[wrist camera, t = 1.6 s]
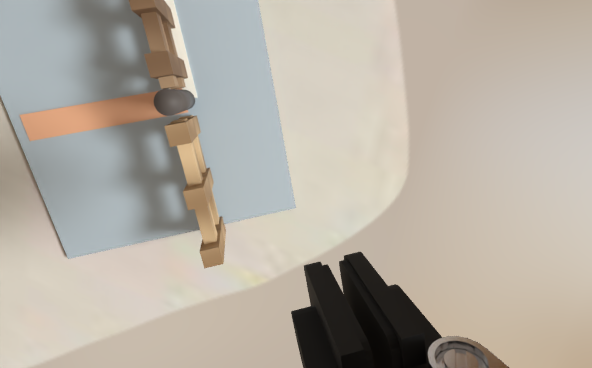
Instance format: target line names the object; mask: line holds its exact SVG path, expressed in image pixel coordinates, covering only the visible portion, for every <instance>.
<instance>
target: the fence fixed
mask: <svg viewBox="0 0 592 368" xmlns="http://www.w3.org/2000/svg"><path fill="white" fill-rule="evenodd" d="M129 3H130V7H131V10H132V11H133V12H134V13H135V14H137V15H138V16H139V17H141V18H142V21H143V25H144V29H145V32H146V36H147V40H148V43H149V47H150V50H151V53H148V54H144V56H145V60H146V63H147V67H148V70H149V74H150V77H151V78H155V79H159V83H160V86H161V89H163V90H160V91H158V92H157V93H156V95H155V97H154V106H155V108H156V110H157V111H158V112H159V113H161V114H162V115H165V116H172V115H175V114H178V113H180V112H183V111H185V110H188V109H190V108H192V107H193V106H194V104H195V97H194V95H193V94H192V93H191V92H190V91H188V90H179V88H184V87H186V86H185V82H184V79H187V78H188V75H187V71H186V67H185V63H184V60H182V59H181V58H179V57H178V55H177V51H176V47H175V43H174V39H173V35H172V31H171V29H173V28H175V24H174V20H173V16H172V12H171V8H170V7H169V6H168V5H167V3H166V2H165V1H164V0H129ZM168 88H171V89H168Z"/></svg>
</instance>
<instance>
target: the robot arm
mask: <svg viewBox="0 0 592 368" xmlns="http://www.w3.org/2000/svg"><path fill="white" fill-rule="evenodd" d="M339 266H340V272H341V279H342V285H343V292H342V291H341V289H340V287H339V285H338V283H337V281H336V279H335V277H334V276H333V274H332V272H331V270H330V268H329V266H328V265H323V266H322V264H321V262H316V263H312V264H309V265H304V271H305V276H306V281H307V287H308V292H309V297H310V303H311V306H310V307H307V308H303V309H299V310H295V311H292V312H291V314H292V319H293V323H294V328H295V333H296V338H297V342H298V347H299V351H300V355H301V360H302V364H303V368H509V367H508V366H507V365H505V364H504V363H503V362H502V361H501V360H500V359H498V358H497V357H496V356H495V355H494V354H492V353H491V352H490V351H489V350H488V349H487V348H485V347H484V346H482V345H481V344H479V343H478V342H476V341H473V340H471V339H468V338H464V337H459V336H447V337H443V338H442V337H441V335H440V334H439V333H438V332H437V331H436V330H435V328H434V327H433V326H432V325H431V323H430V322H429V321H428V320H427V319H426V318H425V316H424V315H423V314H422V313H421V312H420V310H419V309H418V308H417V307H416V306H415V305H414V303H413V302H412V301H411V300H410V299H409V297H408V296H407V295H406V294H405V293H404V292H403V290H402V289H401V288H400V287H399V286H398V285H391V286H387V285H386V283H385V282H384V280H383V279H382V278H381V277H380V275H379V274H378V273H377V272H376V270H375V269H374V268H373V267H372V265H371V264H370V263H369V261H368V260H367V259H366V258H365V256H364V255H363V254H362V253H361V252H357V253H353V254H349V255H345V256H344V260H343V261H340V262H339ZM343 293H344V294H343Z"/></svg>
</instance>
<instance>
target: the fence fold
mask: <svg viewBox="0 0 592 368" xmlns="http://www.w3.org/2000/svg"><path fill="white" fill-rule="evenodd" d="M164 127H165V130H166V134H167V137H168V141H169V145H170V147H173V146H177V148H178V151H179V155H180V159H181V162H182V166H183V169H184V173H185V177H186V180H187V185H186V187H185V188H184V190H183V194H184V197H185V201H186V205H187V208H188V210H192V209H195V213H196V216H197V220H198V224H199V227H200V231H201V234H202V238H203V240H202V244H201V248H200V254H201V257H202V261H203V265H204V268H208V267H212V266H216V265H220V264H223V262H224V248H225V234H226V229H225V225H224V221H223V217H222V216H221V217H219V215H218V211H217V207H216V203H215V199H214V195H213V191H212V188H213V184H214V182H213V178H212V174H211V170H210V168H206V164H205V160H204V156H203V152H202V148H201V144H200V141H199V137H198V135H199V134H200V133H201V130H200V126H199V122H198V118H197V115H196V116H193V115H190V116H184V117H180V118H179V119H178V120H174V121H172V122H170V124H168V125H166V126H164Z"/></svg>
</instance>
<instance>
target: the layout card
mask: <svg viewBox="0 0 592 368" xmlns="http://www.w3.org/2000/svg"><path fill="white" fill-rule="evenodd" d="M164 1H165V2H166V3H167V5H168V6H169V7H170V8H171V12H172V16H173V20H174V24H175V28H173V29H171V31H172V35H173V39H174V43H175V47H176V51H177V55H178V57H179V58H181V59H182V60H184V63H185V67H186V71H187V75H188V78H187V79H184V82H185V86H186V87H184V88H179V90H188V91H190V92H191V93H192V94H193V95H194V97H195V104H194V106H193V107H192V108H190V109H188V110H185V111H183V112H180V113H178V114H175V115H172V116H165V115H162V114H161V113H159V112H158V111H157V110H156V108H155V106H154V97H155V95H156V93H157V92H158V91H160V90H163V89H161V86H160V83H159V79H155V78H151V77H150V74H149V70H148V67H147V63H146V60H145V56H144V54H148V53H151V50H150V47H149V43H148V40H147V36H146V32H145V29H144V25H143V21H142V18H141V17H139V16H138V15H137V14H135V13H134V12H133V11H132V10H131V7H130V3H129V0H0V96H1V98H2V101H3V103H4V106H5V108H6V110H7V113H8V115H9V118H10V120H11V122H12V125H13V127H14V130H15V132H16V134H17V137H18V139H19V142H20V144H21V147H22V149H23V151H24V154H25V156H26V159H27V161H28V163H29V166H30V168H31V171H32V173H33V175H34V178H35V180H36V183H37V185H38V188H39V190H40V192H41V195H42V197H43V200H44V202H45V204H46V207H47V209H48V212H49V214H50V216H51V219H52V221H53V224H54V226H55V229H56V231H57V233H58V236H59V238H60V241H61V243H62V245H63V248H64V250H65V253H66V255H67V258H68V259H70V258H75V257H79V256H83V255H88V254H92V253H97V252H101V251H106V250H110V249H115V248H119V247H124V246H128V245H133V244H137V243H142V242H146V241H151V240H155V239H160V238H164V237H168V236H173V235H177V234H182V233H186V232H191V231H195V230H200V227H199V224H198V220H197V216H196V213H195V209H192V210H188V208H187V205H186V201H185V197H184V194H183V190H184V188H185V187H186V185H187V180H186V177H185V173H184V169H183V166H182V162H181V159H180V155H179V151H178V148H177V146H173V147H170V145H169V141H168V137H167V134H166V130H165V127H164V126H166V125H168V124H170V122H172V121H174V120H178V119H179V118H180V117H184V116H190V115H193V116H196V115H197V118H198V122H199V126H200V130H201V133H200V134H199V135H198V137H199V141H200V144H201V148H202V152H203V156H204V160H205V164H206V168H210V170H211V174H212V178H213V182H214V184H213V188H212V191H213V195H214V199H215V203H216V207H217V211H218V215H219V217H221V216H222V217H223V221H224V224H227V223H231V222H236V221H240V220H245V219H249V218H253V217H258V216H262V215H267V214H271V213H276V212H280V211H285V210H289V209H294V208H296V206H295V200H294V195H293V189H292V184H291V178H290V173H289V167H288V162H287V156H286V151H285V145H284V140H283V134H282V129H281V123H280V118H279V112H278V107H277V101H276V96H275V90H274V85H273V79H272V74H271V68H270V63H269V57H268V52H267V46H266V41H265V35H264V30H263V24H262V19H261V13H260V8H259V2H258V0H164ZM168 89H171V88H168Z"/></svg>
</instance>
